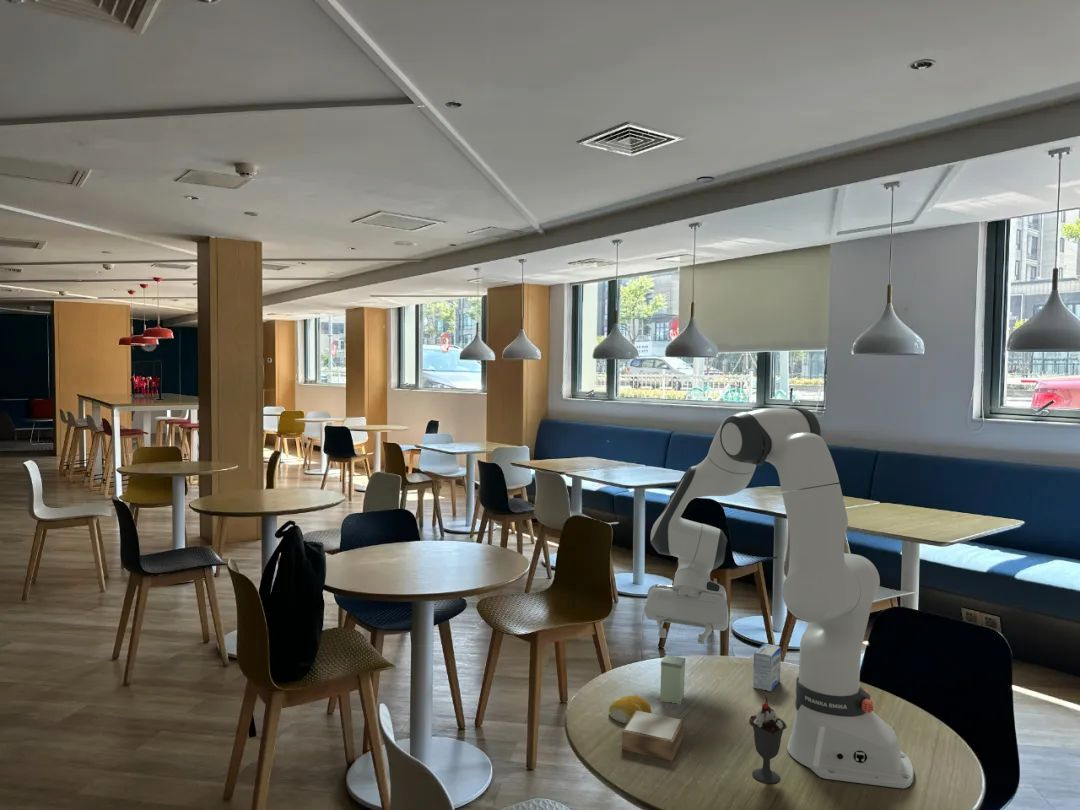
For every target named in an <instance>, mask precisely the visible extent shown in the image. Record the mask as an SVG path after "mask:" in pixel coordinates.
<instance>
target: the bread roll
mask: <svg viewBox="0 0 1080 810" xmlns="http://www.w3.org/2000/svg"><path fill="white" fill-rule="evenodd" d="M636 710H637V711H642V712H647V713H652V708H651V705H650V704H649V702H648V701H647V700H646V699H645V698H643V697H641V696H640V695H639V696H638V695H627V696H622V697H621V698H619V699H617V700H614V701H612V702H611V704H610V706H609V709H608V713H609V715H610V717H611V719H613V720H615V721H617V722H619V723H621V722H622V724H625V725H627V723H628V722H629V720H630V719H631V717H632V716H633V714H634V713H635V711H636Z"/></svg>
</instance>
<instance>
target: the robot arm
mask: <svg viewBox="0 0 1080 810" xmlns="http://www.w3.org/2000/svg"><path fill="white" fill-rule="evenodd" d="M821 434H822V432H821V425H820V422H819V419H818V418H817V416H816V415H815V414H814V413H813V412H812V411H810V410H808V409H806V408H801V407H794V406H793V407H792V406H791V407H788V408H783V407H782V408H781V407H780V408H777V407H775V408H769V407H768V408H767V407H766V408H760V409H754V410H751V411H750V410H749V411H740V412H737V413H734V414H731V415H729V416H727V417H726V418H725V419H723V421H722V422H721V424H720V426H719V428H718V429H717V431H716V433H715V435H714V437H713V439H712V442H711V444H710V447H709V450H708V453H707V455H706V457H705V458H704V459H703V460H702V461H701V462H699V463H698V464H696V465H693V466H689V467H688V469H687V470H686V471H685V472H684V474H683V475H682V477H681V478H680V480H679V482H678V483H677V485H676V487H675V488H674V491H673V492H672V494H671V496H670V498H669V500H668V501H667V503H666V505H665V507H664V508H663V510H662V512H661V513H660V514H659V516H658V518H657V519H656V520H655V522H654V523H653V525H652V528H651V530H650V544H651V546H652V547H653V548H654V550H655V551H656V552H657V553H658V554H659V555H660V554H661V555H666V556H669V557H671V556H673V557H676V558H678V560H677V563H678V567H677V570H676V571H675V574H674V579H673V584H672V585H668V584H664V585H663V584H660V583H656V584H655V585H652V586H649V588H648V590H647V594H646V595H647V599H646V601H645V604H644V608H643V612H644V615H645V617H646V618H647V620H651V621H656V623H657V627H658V638H660V639H661V638H663V639H666V635H667V630H666V628H665V627H664V628H663V627H662V626H664V623H669V624H670V623H671V624H676V625H682V626H689V627H695V628H701V629H704V632H703V633H702V634H699V633H698V637H697V643H698V644H700V645H702V646H703V645H704V646H705V645H706V639H708V637H710V635H711V634H713V633H712V632H713V630H715V631H721V632H724V631H727V629H728V628H729V620H730V619H729V605H728V602H727V600H728V599H727V592H726V588H725V586H723V585H722V584H720V583H717V582H715V581H712V580H711V572H712V570H713V571H714V570H716V569H717V568H719V567H720V566H721V565H723V563H724V562H725V557H726V547H727V543H728V539H727V536H726V535H725V532H724V531H723V530H722V529H720V528H717V526H716V527H715V526H712V525H710V524H706V523H700V522H697V521H693V520H689V519H686V518H683V517H682V515H683V513H684V511H685V510H686V508H687V506H688V504H689V503H690V502H691V501H693V500H694V499H696V498H697V499H698V498H703V497H727V496H733V495H735V494H737V493H740V492H742V491H744V489H745V488H747V486H748V485H749V484H750V482H751V480H752V478H753V476H754V473H755V471H756V468H757V466H759V467H760V466H763V464H765V462H767V463H770V464H771V465H772V466H773V467H774V468H775V469H776V471H777V475H778V479H779V485H780V489H781V494H782V499H783V503H784V504H783V505H784V509H785V514H786V519H787V523H788V529H789V557H788V558H789V560H788V561H789V563H788V570H787V575H786V578H785V580H784V582H783V584H782V590H781V591H782V592H781V594H782V599H783V603H784V605H785V606H786V608H787V609H788V611H789V612H790V613H791V614H792V615H793V616H794V617H795V618H797V619H798V620H801V621H803V622H807V625H806V627H805V630H804V632H803V633H802V635H801V638H800V642H799V664H798V677H796V682H795V685H794V686H795V688H794V692H795V693H794V708H795V715H794V721H793V726H792V730H791V734H790V737H789V739H788V743H787V745H786V749H787V752H788V754H789V755H790V756H791V757H792V758H793V759H794V760H795V761H797V762H798V763H800V764H801V765H803V766H806V767H807V768H808V769H810V770H811V771H812V772H814V774H815V775H817V776H818V777H819V778H822V779H826V780H833V781H841V782H842V781H843V782H849V783H859V784H863V785H870V786H871V785H873V786H880V787H887V788H895V789H907V788H908V787H910V786H911V785H912V784H913V782H914V778H915V777H914V776H915V775H914V767H913V764H912V761H911V759H910V758H909V757H908V755H907V754H906V753H904V752H903V751H902V750H901V745H900V742H899V739H898V737H897V734H896V732H895V730H894V728H892V727H891V725H889V724H888V723H887V722H885V721H884V720H883V719H882V718H881V717H880V716H878V715H877V714H876V713H875V712H874V702H873V701H872V700H871V695H870V694H869V691H868V689H867V688H866V687H865V690H864V689H863V688H862V687H861V686H860V677H861V676H860V675H861V662H862V660H861V658H862V650H863V649H862V648H863V643H864V639H865V634H866V630H867V626H868V623H869V620H870V619H869V617H870V614H871V610H872V607H873V601H874V599H875V596H876V595H877V593H878V592H879V589H880V585H881V584H880V583H881V581H880V580H881V578H880V574H879V572H878V569H877V568H876V566H875V564H874V563H873V562H872V561H871V560H870V559H868V558H867V557H864V556H862V555H860V554H854V553H845V540H846V539H845V538H846V532H847V530H848V525H849V518H848V517H849V516H848V514H847V508H846V506H845V500H844V496H843V493H842V487H841V484H840V479H839V475H838V472H837V469H836V466H835V462H834V459H833V458H832V455H831V452H830V449H829V448H828V446H827V445H828V444H826V442H825V440H824V438H823V437H821Z"/></svg>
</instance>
